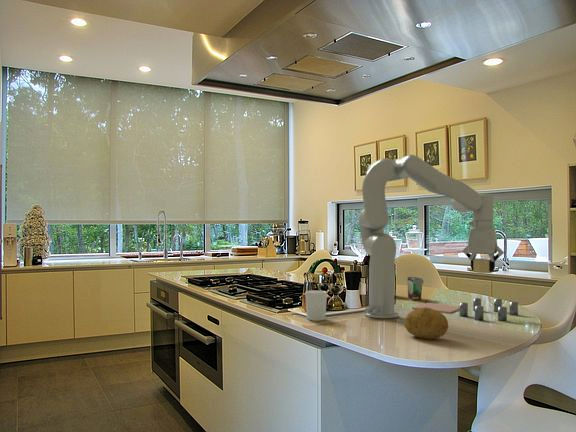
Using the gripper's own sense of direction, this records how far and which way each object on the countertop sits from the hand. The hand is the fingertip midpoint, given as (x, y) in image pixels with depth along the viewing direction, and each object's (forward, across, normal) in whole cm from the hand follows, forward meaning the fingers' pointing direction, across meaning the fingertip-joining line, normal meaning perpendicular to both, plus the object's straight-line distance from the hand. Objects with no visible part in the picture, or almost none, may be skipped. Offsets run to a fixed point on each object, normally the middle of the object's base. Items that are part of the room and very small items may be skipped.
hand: (482, 270), depth 186 cm
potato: (+18, 0, -53) cm, 56 cm away
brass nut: (+1, 0, 0) cm, 1 cm away
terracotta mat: (+17, -18, +2) cm, 25 cm away
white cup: (+18, -43, -52) cm, 69 cm away
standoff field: (+17, +2, 0) cm, 17 cm away
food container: (+18, -37, +20) cm, 46 cm away
